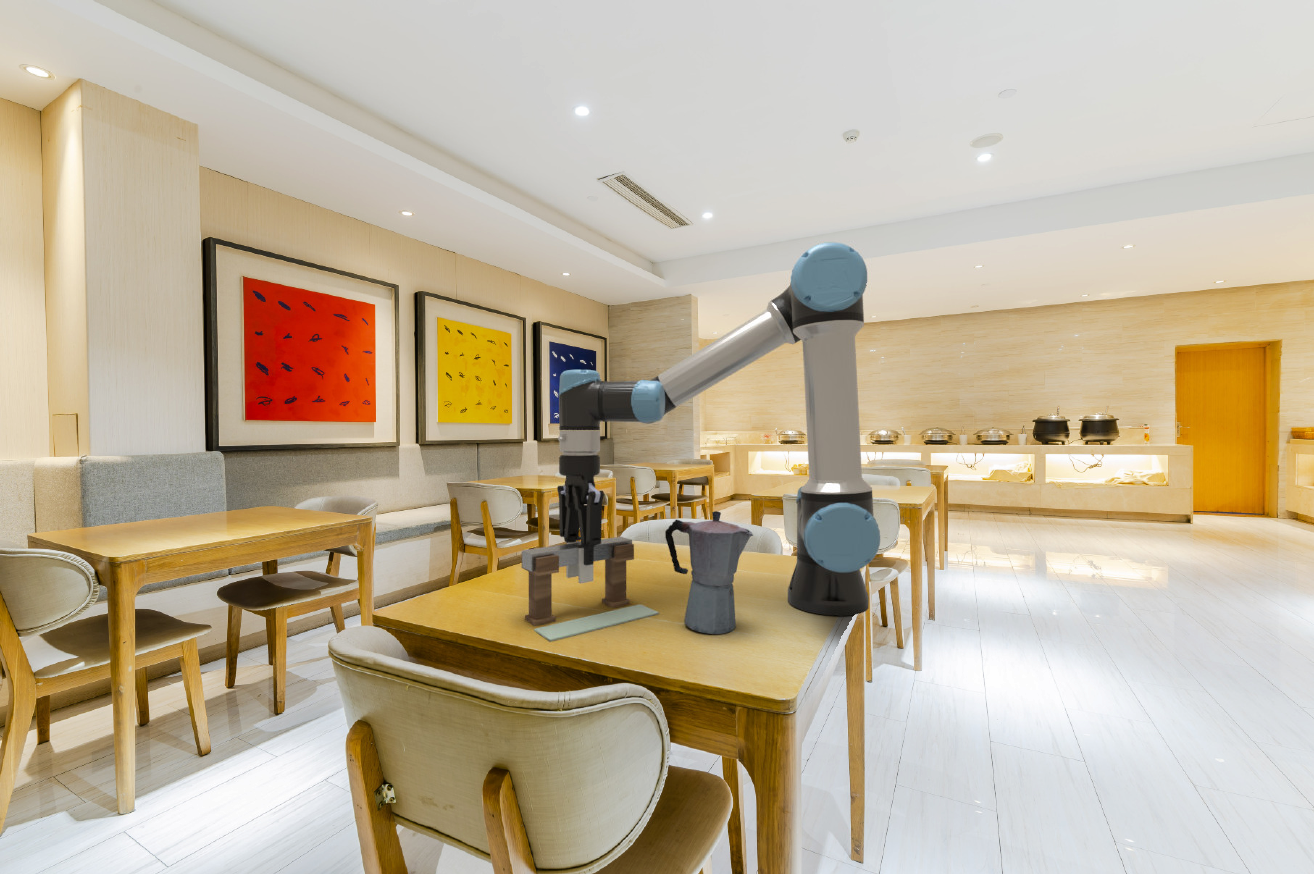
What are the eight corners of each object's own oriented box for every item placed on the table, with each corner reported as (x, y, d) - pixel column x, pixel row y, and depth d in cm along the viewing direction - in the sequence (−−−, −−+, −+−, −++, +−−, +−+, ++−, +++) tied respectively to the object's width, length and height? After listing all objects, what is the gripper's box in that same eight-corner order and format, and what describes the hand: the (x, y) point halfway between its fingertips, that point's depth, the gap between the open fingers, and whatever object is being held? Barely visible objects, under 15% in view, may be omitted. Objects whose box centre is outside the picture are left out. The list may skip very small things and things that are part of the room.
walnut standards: (634, 605, 106) (634, 544, 106) (538, 628, 94) (537, 559, 94) (614, 597, 112) (614, 538, 112) (521, 617, 100) (521, 551, 100)
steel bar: (632, 555, 108) (632, 539, 108) (531, 571, 95) (531, 554, 95) (620, 551, 111) (620, 536, 111) (522, 567, 98) (522, 550, 98)
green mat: (659, 613, 102) (659, 612, 102) (550, 641, 88) (550, 639, 88) (640, 605, 107) (640, 604, 107) (534, 630, 93) (534, 628, 93)
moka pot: (752, 639, 89) (752, 516, 89) (658, 632, 93) (659, 513, 92) (753, 619, 99) (754, 508, 98) (668, 613, 102) (669, 505, 102)
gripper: (540, 452, 107) (541, 572, 107) (584, 456, 94) (584, 593, 94) (575, 451, 112) (575, 566, 112) (621, 455, 98) (621, 585, 98)
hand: (579, 578), depth 103 cm, fingers closed on steel bar, 4 cm apart
